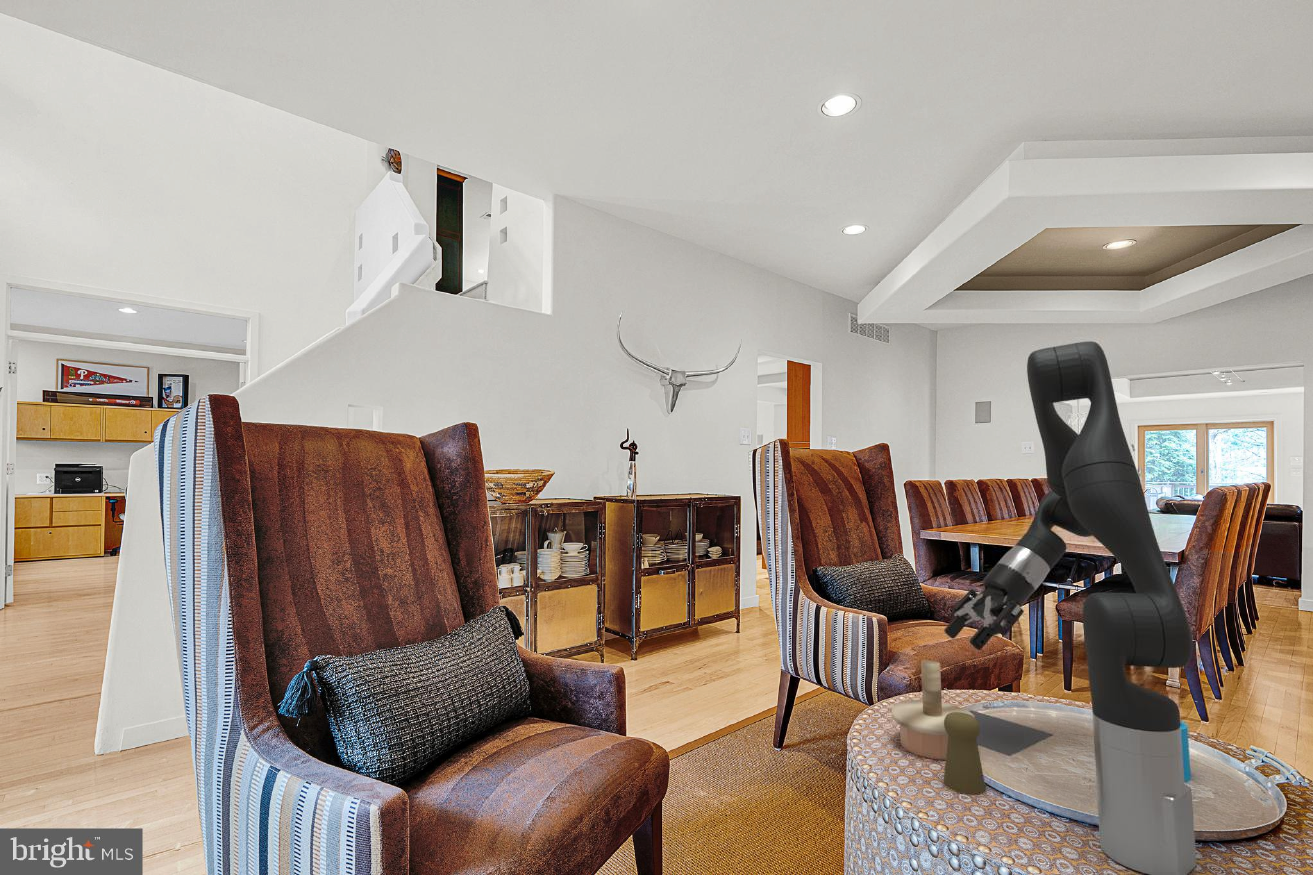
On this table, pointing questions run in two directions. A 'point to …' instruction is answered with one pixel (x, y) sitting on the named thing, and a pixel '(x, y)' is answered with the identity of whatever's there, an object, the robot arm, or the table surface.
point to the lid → (926, 704)
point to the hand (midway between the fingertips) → (960, 640)
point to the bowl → (924, 743)
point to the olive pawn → (963, 754)
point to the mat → (1006, 734)
